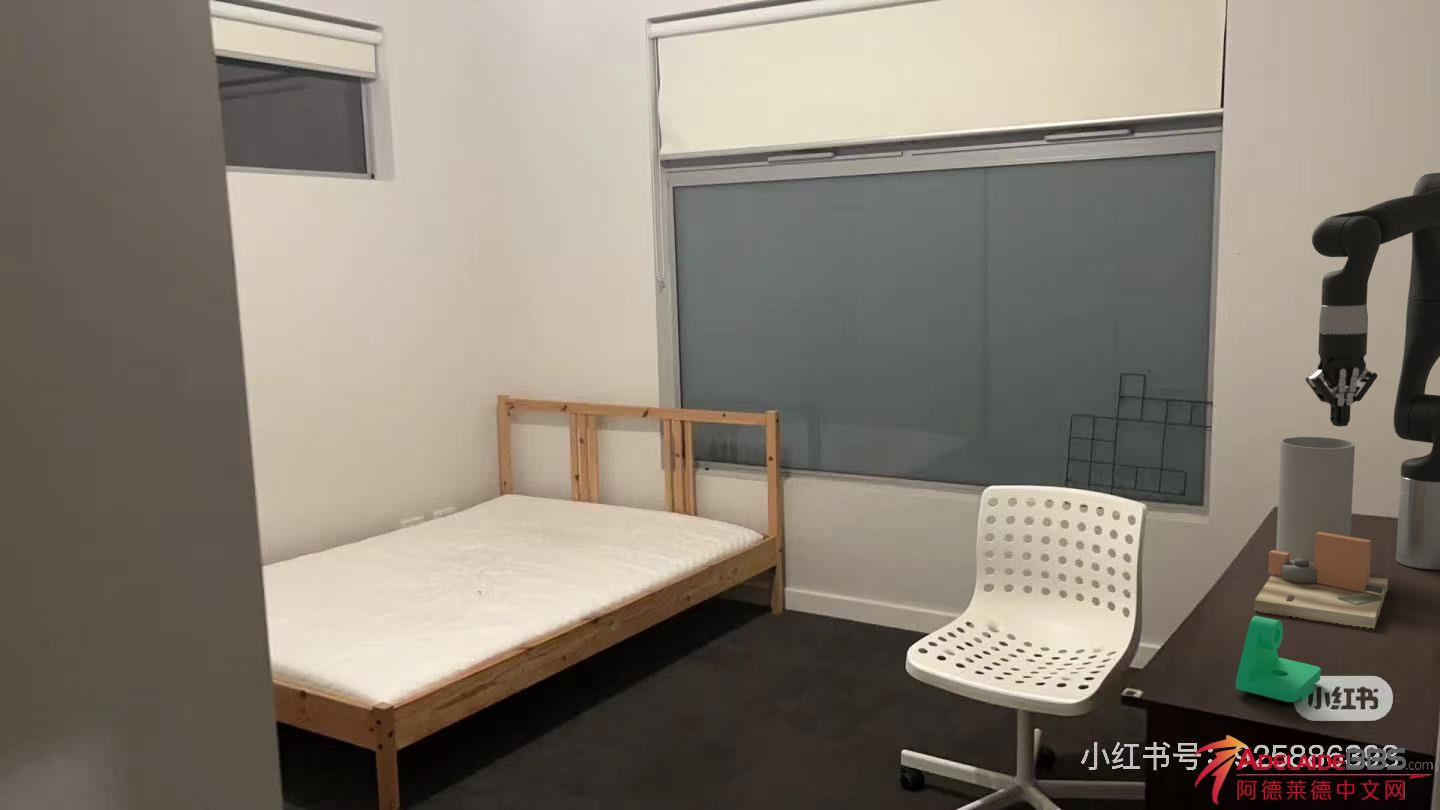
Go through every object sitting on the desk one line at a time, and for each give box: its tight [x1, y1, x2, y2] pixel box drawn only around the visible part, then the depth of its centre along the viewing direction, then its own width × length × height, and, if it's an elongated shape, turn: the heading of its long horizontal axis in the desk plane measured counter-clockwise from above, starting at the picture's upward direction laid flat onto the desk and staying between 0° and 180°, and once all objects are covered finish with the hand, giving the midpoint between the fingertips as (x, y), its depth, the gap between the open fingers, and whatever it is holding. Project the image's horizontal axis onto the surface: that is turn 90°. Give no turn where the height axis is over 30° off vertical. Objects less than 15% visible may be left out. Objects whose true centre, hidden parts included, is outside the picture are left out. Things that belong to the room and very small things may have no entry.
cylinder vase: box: [1275, 436, 1356, 563], centre depth 210 cm, size 12×12×25 cm
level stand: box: [1253, 573, 1389, 630], centre depth 193 cm, size 24×18×6 cm
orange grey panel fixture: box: [1267, 532, 1383, 593], centre depth 195 cm, size 19×6×9 cm, turn 39°
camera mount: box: [1235, 615, 1322, 703], centre depth 157 cm, size 12×8×10 cm, turn 134°
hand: (1339, 425), depth 196 cm, fingers closed
